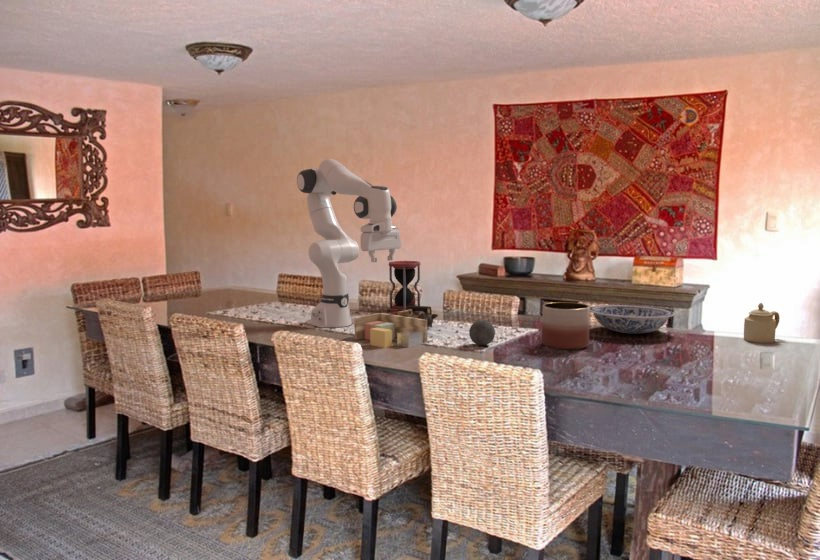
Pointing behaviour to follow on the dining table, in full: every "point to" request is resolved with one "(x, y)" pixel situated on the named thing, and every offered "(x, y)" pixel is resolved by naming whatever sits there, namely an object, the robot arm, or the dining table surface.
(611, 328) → the ceramic bowl
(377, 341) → the book
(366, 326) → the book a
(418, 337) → the block
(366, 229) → the robot arm
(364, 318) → the shelf corner
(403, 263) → the hourglass
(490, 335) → the decorative ball
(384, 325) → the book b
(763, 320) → the sugar bowl
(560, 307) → the planter
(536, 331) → the dining table surface
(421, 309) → the brown owl figurine
